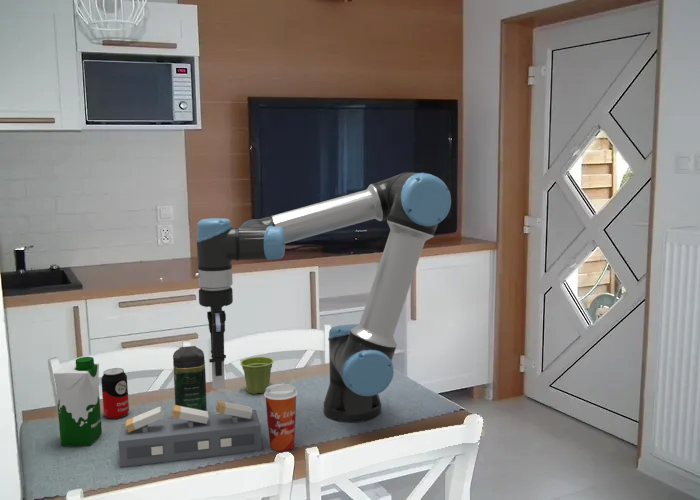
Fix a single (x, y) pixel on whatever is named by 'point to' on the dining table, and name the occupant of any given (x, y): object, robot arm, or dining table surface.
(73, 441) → the milk carton
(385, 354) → the robot arm
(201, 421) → the rocker
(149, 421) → the rocker
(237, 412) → the rocker
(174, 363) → the coffee jar
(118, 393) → the beverage can
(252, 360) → the plant pot
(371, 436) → the dining table surface
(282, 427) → the paper cup
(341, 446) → the dining table surface
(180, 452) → the console
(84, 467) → the dining table surface
